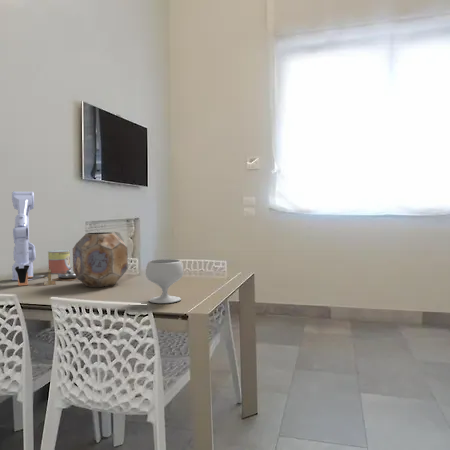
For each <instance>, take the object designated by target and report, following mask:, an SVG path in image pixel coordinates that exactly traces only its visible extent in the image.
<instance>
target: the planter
mask: <svg viewBox="0 0 450 450" xmlns="http://www.w3.org/2000/svg"><path fill="white" fill-rule="evenodd" d="M128 251H129V250H128V246H127V245H126V244H125V242H124V240H122V239H121V238H120V237H119V236H118V235H117V234H116V233H115V232H105V231H103V232H87V233H85V234H84V235H83V236H82V237H81V238H80V239H79V240H78V241H77V242H76V243H75V244H74V246H73V248H72V267H73V272H74V273H75V275H76V277H77V279H76V280H79V281H80V282H81V283H82V284H83V285H85V286H86V287H91V288H103V287H104V286H105V287H111V286H112V285H113V286H114V285H116V283H117V282H118V281H119V280H120V279H121V278H122V277H123V276H124V275H125V274H126V272H127V271H128V270H129V262H128V261H129V259H128Z"/></svg>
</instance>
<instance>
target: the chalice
mask: <svg viewBox="0 0 450 450" xmlns="http://www.w3.org/2000/svg"><path fill="white" fill-rule="evenodd" d="M183 275H184V267H183V263H182V262H181V260H180V259H172V258H171V259H170V258H169V259H167V258H164V259H163V258H162V259H152V260H149V261H148V263H147V264H146V268H145V276H146V278H147V280H148V281H150V282H151V283H153V284H155V285H157V286H159V288H161V291H162V294H161V295H158V296H154V297H150V298H149V299H148V301H149V302H150V303H153V304H172V303H177V302H180V301H181V300H182V298H181V297H179V296H175V295H170V294H168V293H169V292H168V290H169V288H170V287H171V286H172V285H174V284H175V283H177V282H178V281H180V280H181V279H182V278H183Z"/></svg>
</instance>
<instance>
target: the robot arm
mask: <svg viewBox="0 0 450 450" xmlns="http://www.w3.org/2000/svg"><path fill="white" fill-rule="evenodd" d="M11 200H12V206H13V208H14V210H17V215H15V218H14V228H13V229H12V236H13V237H12V238H13V244H14V246H13V261H14V263H13V264H12V268H11V269H12V270H11V271H12V275H11V276H12V278H10V280H12V281H18V278H19V282H20V283H25V280H26V273H27V272H28V276H34V261H36V257H37V256H36V255H37V254H36V253H37V252H36V246H35V245H34V243H32V242H30V212H31V210H33V209H34V207H35V193H34V191H15V190H14V191H12V192H11ZM31 280H33V279H28V281H31Z"/></svg>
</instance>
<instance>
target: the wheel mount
mask: <svg viewBox="0 0 450 450" xmlns="http://www.w3.org/2000/svg"><path fill="white" fill-rule="evenodd" d="M77 280H78V279H77V277H76V278H67V279H62V278H58V277H57V278H51V281H64V282H71V281H77Z"/></svg>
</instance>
